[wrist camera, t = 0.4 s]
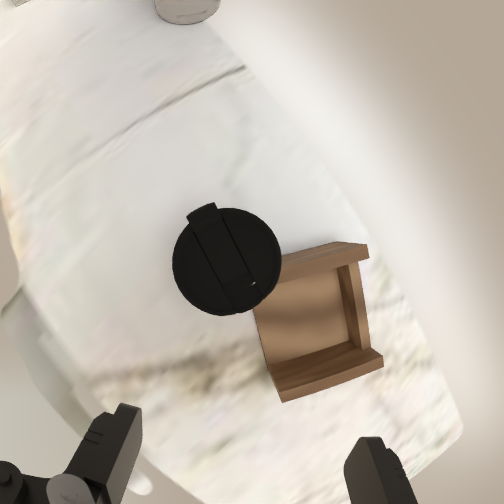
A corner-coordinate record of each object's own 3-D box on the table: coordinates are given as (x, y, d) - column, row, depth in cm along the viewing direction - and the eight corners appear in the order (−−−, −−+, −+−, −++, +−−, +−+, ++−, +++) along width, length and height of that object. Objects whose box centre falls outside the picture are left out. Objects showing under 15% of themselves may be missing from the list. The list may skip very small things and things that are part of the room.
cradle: (242, 265, 37) (250, 275, 29) (336, 241, 38) (366, 244, 30) (268, 371, 39) (282, 402, 30) (354, 343, 40) (383, 366, 32)
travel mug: (230, 207, 37) (251, 180, 17) (255, 258, 37) (304, 289, 18) (182, 231, 36) (146, 233, 16) (208, 282, 37) (204, 340, 17)
